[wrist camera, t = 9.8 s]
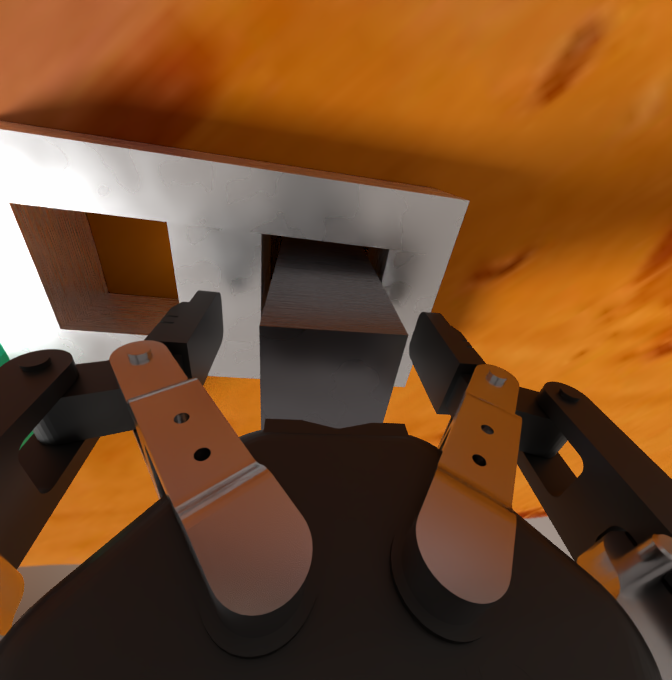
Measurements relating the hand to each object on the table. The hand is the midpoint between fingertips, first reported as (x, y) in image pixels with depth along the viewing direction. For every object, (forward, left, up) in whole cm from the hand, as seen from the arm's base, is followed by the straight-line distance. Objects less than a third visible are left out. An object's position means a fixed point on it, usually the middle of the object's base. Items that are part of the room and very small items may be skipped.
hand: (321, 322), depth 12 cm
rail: (0, -4, -6) cm, 8 cm away
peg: (0, 0, -6) cm, 6 cm away
